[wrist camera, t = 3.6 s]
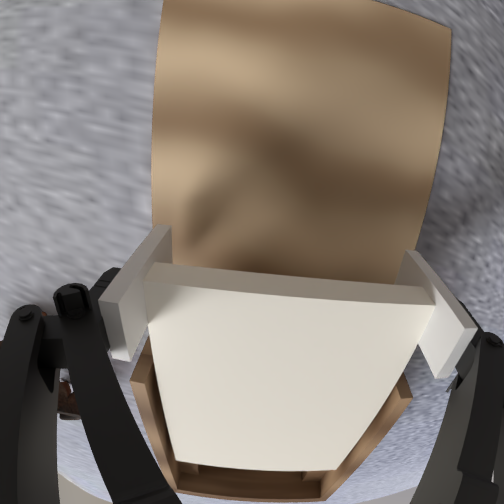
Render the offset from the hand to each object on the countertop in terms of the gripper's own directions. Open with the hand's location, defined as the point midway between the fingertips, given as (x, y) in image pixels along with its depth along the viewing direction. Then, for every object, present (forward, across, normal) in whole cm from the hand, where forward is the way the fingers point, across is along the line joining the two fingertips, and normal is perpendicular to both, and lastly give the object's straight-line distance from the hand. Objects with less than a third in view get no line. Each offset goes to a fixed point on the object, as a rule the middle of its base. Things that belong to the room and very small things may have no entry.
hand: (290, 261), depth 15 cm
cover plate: (-3, 0, -7) cm, 8 cm away
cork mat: (+2, 0, +5) cm, 5 cm away
